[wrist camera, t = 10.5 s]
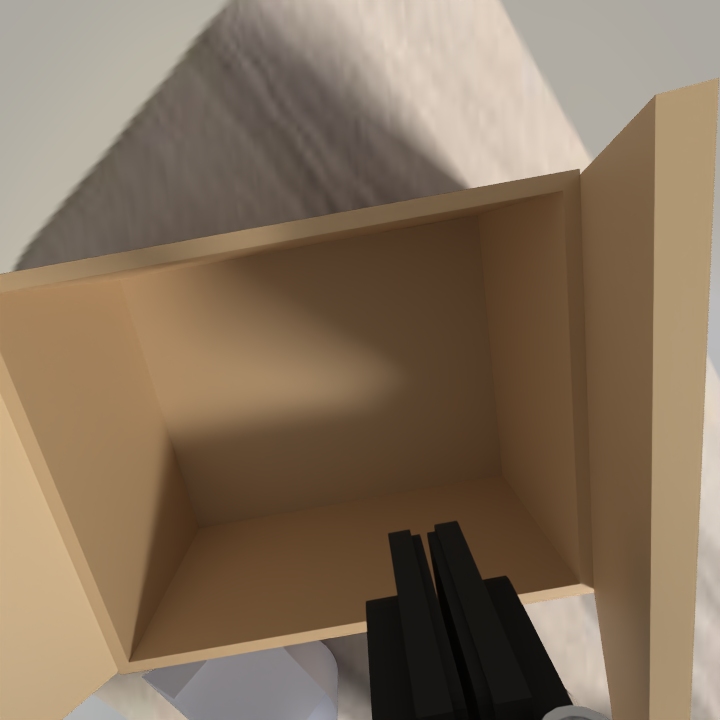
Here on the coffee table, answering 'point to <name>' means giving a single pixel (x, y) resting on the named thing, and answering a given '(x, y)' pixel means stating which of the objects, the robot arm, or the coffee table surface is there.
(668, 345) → the flap
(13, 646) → the flap
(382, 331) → the carton
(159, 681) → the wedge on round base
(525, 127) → the coffee table surface
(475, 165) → the coffee table surface
